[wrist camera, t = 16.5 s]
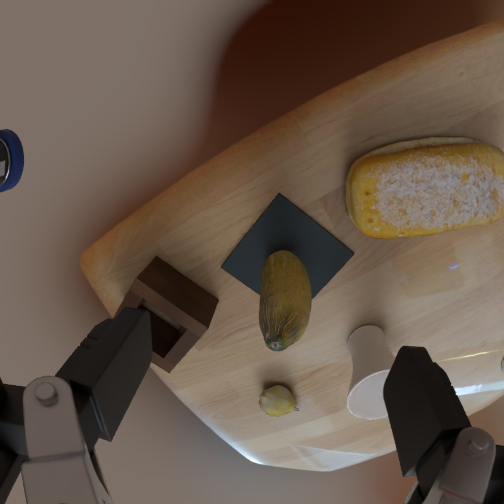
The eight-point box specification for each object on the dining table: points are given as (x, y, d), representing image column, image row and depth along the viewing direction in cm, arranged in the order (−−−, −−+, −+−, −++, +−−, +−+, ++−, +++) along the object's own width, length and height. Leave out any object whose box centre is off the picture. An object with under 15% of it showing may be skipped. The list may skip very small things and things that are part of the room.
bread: (332, 150, 41) (343, 155, 34) (490, 128, 36) (520, 132, 29) (350, 243, 45) (361, 265, 38) (496, 211, 41) (524, 226, 33)
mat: (221, 266, 49) (220, 267, 48) (279, 193, 44) (278, 193, 43) (293, 316, 51) (293, 318, 50) (354, 252, 46) (354, 253, 46)
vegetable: (288, 231, 45) (290, 306, 27) (316, 262, 47) (333, 349, 28) (256, 258, 47) (238, 342, 29) (284, 287, 49) (283, 380, 30)
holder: (126, 305, 53) (106, 330, 46) (156, 255, 49) (136, 277, 42) (182, 344, 55) (169, 373, 48) (219, 299, 51) (208, 328, 43)
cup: (326, 356, 53) (333, 414, 41) (351, 307, 49) (368, 363, 37) (377, 367, 53) (393, 422, 41) (405, 322, 49) (431, 374, 37)
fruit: (287, 412, 60) (247, 396, 57) (306, 392, 59) (266, 374, 56) (296, 431, 54) (254, 415, 51) (316, 409, 54) (274, 392, 51)
